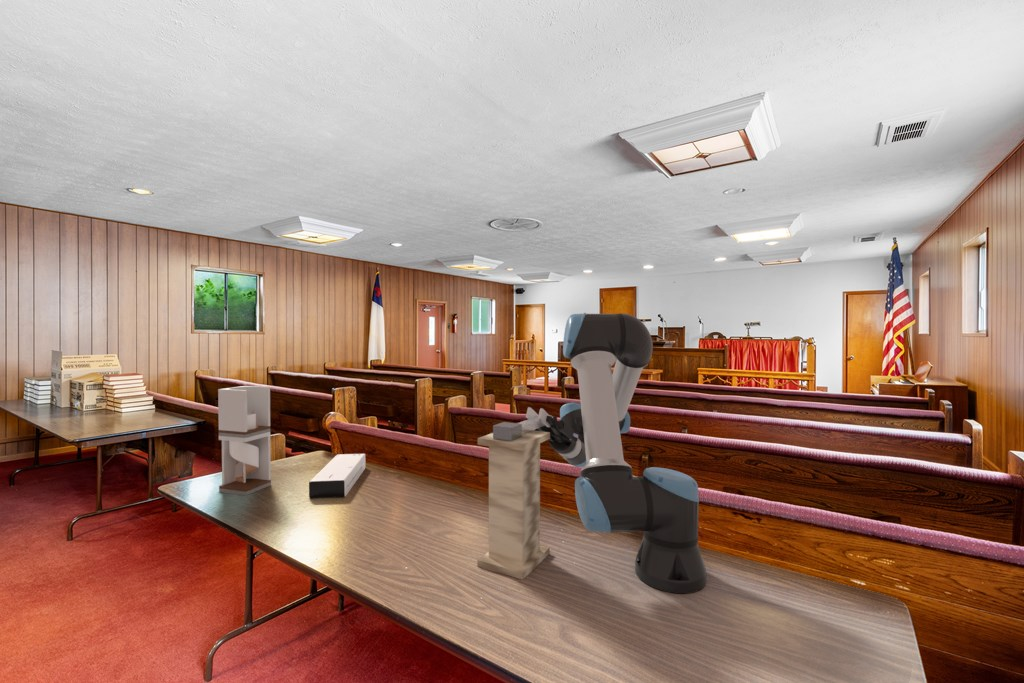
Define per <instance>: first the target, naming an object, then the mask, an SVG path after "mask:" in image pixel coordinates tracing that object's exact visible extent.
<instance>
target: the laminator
mask: <svg viewBox="0 0 1024 683" xmlns="http://www.w3.org/2000/svg"><path fill="white" fill-rule="evenodd" d="M366 465H367V464H366V453H344V454H343V453H342V454H341V453H340V454H339V453H338V454H336V455H335V456H334V457H332V459H331V460H330V461H329V462H328V463H327V464H326V465H325V466H324V467H323V468H322V469H321V470H320V471H319V472H317V474H316V475H314V477H312V479H310V481H308V482H309V483H308V497H309V499H325V498H326V499H328V498H329V499H330V498H332V499H333V498H346V497H347V495H348V494H349V492H350V491H351V489H352V488H353V487H354V485H355V484H356V483H357V481H358V479H359V478H360V477H361V475H362V474H363V472H364V471H365V469H366Z"/></svg>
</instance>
